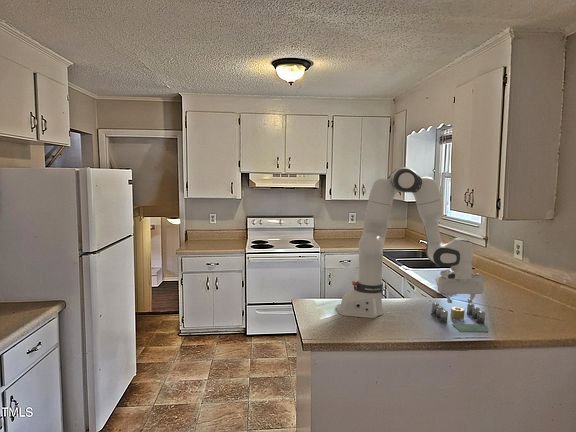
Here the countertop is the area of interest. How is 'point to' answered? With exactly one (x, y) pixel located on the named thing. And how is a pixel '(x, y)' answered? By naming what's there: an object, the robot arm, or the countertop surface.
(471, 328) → the rubber mat
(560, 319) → the countertop surface
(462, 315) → the brass nut
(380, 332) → the countertop surface
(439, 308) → the spacer rows
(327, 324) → the countertop surface
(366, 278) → the robot arm
